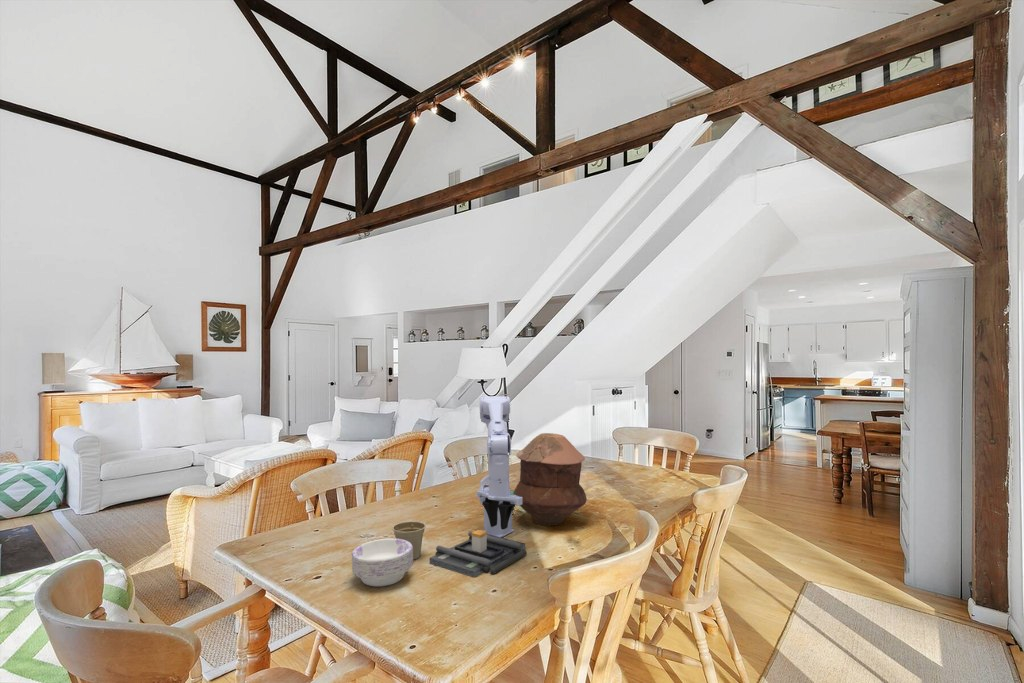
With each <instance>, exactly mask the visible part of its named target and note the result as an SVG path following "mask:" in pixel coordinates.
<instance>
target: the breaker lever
mask: <svg viewBox="0 0 1024 683" xmlns="http://www.w3.org/2000/svg"><path fill="white" fill-rule="evenodd" d="M471 536H472V550H473V551H476V552H480V553H481V552H483V551H485V550H487V532H486V531H483V530H481V529H477V530H475V531H472V533H471Z"/></svg>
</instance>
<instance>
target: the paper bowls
mask: <svg viewBox="0 0 1024 683" xmlns="http://www.w3.org/2000/svg"><path fill="white" fill-rule="evenodd" d="M413 564H414V559H413V547H412V544H411V543H410V542H408V541H406V540H402V539H396V538H380V539H375V540H374V539H373V540H371V541H367V542H364V543H362V544H360V545H357V546H356V547H355V548H354V549H353V550H352V552H351V572H352V573H353V575H354V576H356V577H357V578H360V580H361V581H362V582H363V584H365V585H367V586H370V587H379V588H380V587H386V586H391V585H394V584H396V583H398V582H399V581H401V580H402V578H403V577H404V576H405V573H406V572H408V571H409V570H410V569H411V568H412V567H413Z"/></svg>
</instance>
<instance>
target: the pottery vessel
mask: <svg viewBox="0 0 1024 683" xmlns="http://www.w3.org/2000/svg"><path fill="white" fill-rule="evenodd" d="M516 457H517V458H518V459H519V460H520V462H519V463H520V467H519V468H520V474H519V475H520V476H519V481H518V483H517V485H516V486H515V488H514V490H513V493H512V494H514V495H516V496H519V497H522V505H519V506H518V507H520V508H522V510H523V511H525V512H526V513H527V514H528V515H529V516H530V517H531V518H532V519H533V520H534V523H536V524H539V525H542V526H548V527H549V526H550V527H551V526H558V525H560V524H562V523H563V522H564V520H565V519H566V518H567V517H569V516H570V515H572V514H573V513H574V512H575V511H577V510H579V509H580V508H582V507H583V506H584V505H586V503H587V501H588V499H587V494H586V492H585V489H584V488H583V486H582V485H581V484H580V481H581V472H582V465H583V464H582V463H583V462H584V461H585V459H586V458H585V456H584V455H583V453H581V452H580V451H579V450H578V449H577V448H576V446H574V445H573V444H572V442H570V440H569V439H568V438H566V436H564V435H562V434H558V433H553V432H552V433H551V432H546V433H545V432H543V433H540V434H538V435H537V436H535V437H534V438H532V440H531V441H529V443H528V444H526V446H524V448H522V449H521V450H519V451H518V452H517V453H516Z"/></svg>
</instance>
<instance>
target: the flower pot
mask: <svg viewBox="0 0 1024 683" xmlns="http://www.w3.org/2000/svg"><path fill="white" fill-rule="evenodd" d="M426 527H427V525H426V523H424V522H422V521H414V520H413V521H403V522H399V523H396V524H394V525H393V526H392V528H391V529H392V531H393V534H394V539H402V540H406V541H408V542H410V543H411V544H412V547H413V560H415V559H416V560H418V559H419V558H420V557H421V552H422V543H423V536H424V533H425V529H426Z"/></svg>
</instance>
